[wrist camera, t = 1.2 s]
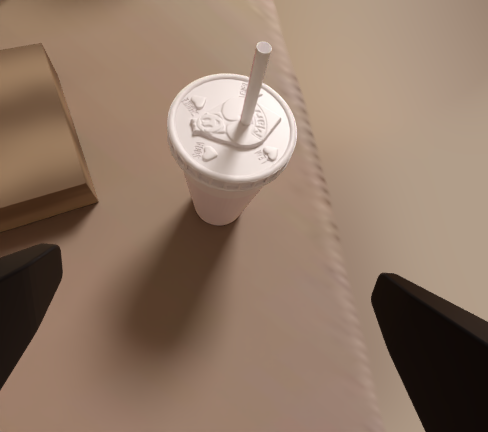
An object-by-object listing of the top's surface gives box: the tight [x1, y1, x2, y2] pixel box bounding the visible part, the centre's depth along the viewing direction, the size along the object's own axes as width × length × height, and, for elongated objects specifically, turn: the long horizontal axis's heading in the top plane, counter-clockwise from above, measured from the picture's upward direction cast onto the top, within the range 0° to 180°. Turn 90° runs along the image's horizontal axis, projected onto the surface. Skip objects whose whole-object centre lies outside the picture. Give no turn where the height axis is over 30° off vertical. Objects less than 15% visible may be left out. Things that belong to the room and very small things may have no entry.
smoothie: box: [167, 42, 297, 225], centre depth 18 cm, size 6×6×14 cm
